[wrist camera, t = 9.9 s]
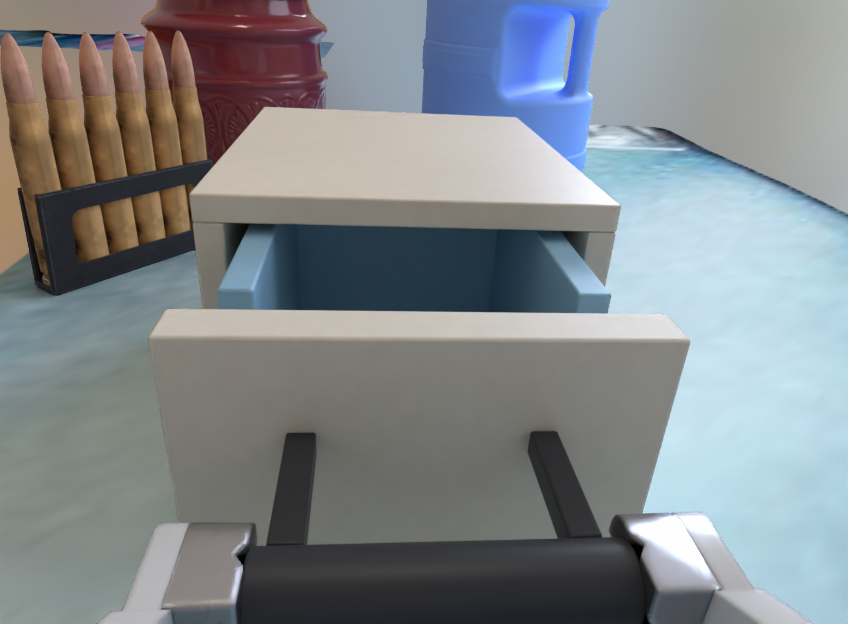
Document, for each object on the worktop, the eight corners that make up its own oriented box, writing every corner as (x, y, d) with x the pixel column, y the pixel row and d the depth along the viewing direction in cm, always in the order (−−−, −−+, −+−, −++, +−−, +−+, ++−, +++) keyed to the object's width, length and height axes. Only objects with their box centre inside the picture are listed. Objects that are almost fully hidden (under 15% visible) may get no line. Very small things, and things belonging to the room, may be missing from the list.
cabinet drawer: (695, 802, 12) (837, 495, 9) (134, 841, 11) (35, 510, 8) (514, 354, 27) (538, 174, 24) (267, 353, 26) (254, 165, 23)
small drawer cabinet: (567, 474, 22) (622, 205, 17) (221, 480, 21) (188, 193, 16) (495, 301, 34) (517, 117, 29) (275, 298, 33) (264, 106, 28)
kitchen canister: (359, 192, 50) (361, -64, 42) (198, 217, 43) (164, -86, 35) (285, 157, 59) (275, -60, 51) (142, 173, 52) (104, -77, 44)
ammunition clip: (203, 232, 41) (181, 29, 35) (223, 239, 40) (203, 31, 34) (34, 285, 32) (-28, 31, 27) (55, 295, 32) (-6, 35, 26)
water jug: (385, 168, 58) (394, -221, 45) (465, 142, 70) (491, -170, 57) (544, 202, 51) (609, -247, 38) (603, 167, 63) (667, -183, 50)
